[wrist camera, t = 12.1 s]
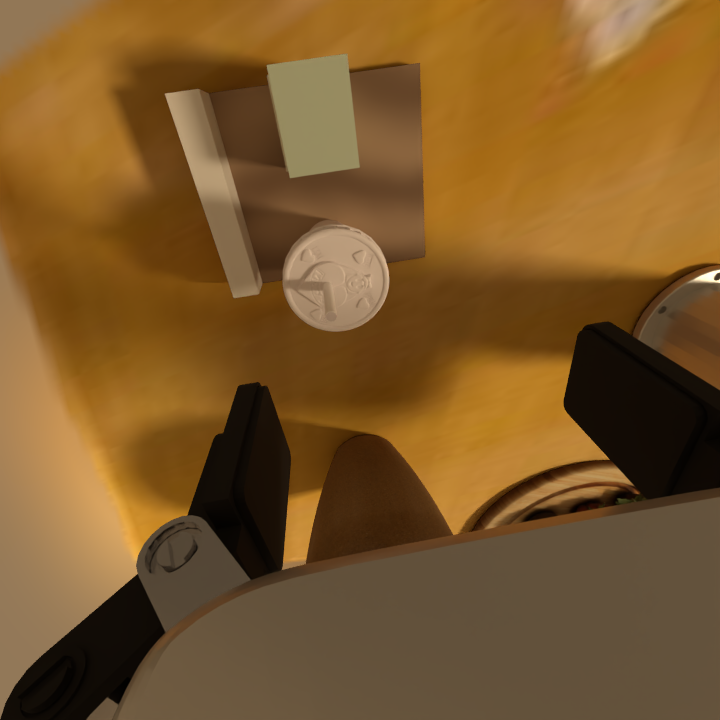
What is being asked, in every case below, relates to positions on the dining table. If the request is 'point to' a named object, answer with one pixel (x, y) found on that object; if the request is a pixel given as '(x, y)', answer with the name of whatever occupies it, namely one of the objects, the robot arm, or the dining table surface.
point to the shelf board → (332, 189)
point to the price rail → (216, 188)
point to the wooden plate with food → (562, 494)
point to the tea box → (314, 114)
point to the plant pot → (371, 503)
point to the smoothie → (335, 277)
